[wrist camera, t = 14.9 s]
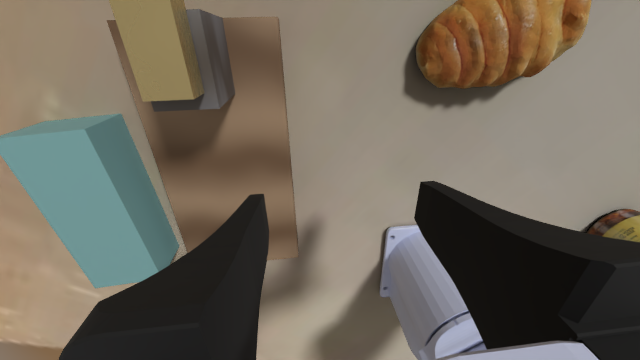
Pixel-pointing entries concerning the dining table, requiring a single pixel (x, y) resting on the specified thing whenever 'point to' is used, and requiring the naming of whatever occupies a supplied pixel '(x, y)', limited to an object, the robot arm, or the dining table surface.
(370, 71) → the dining table surface
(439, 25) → the pastry
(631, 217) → the sauce bottle
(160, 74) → the tan rectangular bar
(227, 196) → the base
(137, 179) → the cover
